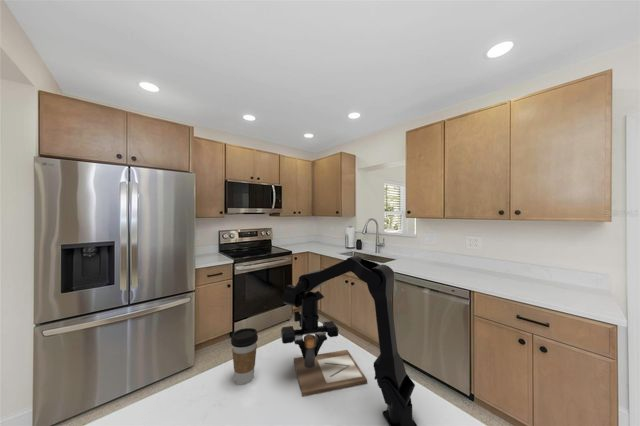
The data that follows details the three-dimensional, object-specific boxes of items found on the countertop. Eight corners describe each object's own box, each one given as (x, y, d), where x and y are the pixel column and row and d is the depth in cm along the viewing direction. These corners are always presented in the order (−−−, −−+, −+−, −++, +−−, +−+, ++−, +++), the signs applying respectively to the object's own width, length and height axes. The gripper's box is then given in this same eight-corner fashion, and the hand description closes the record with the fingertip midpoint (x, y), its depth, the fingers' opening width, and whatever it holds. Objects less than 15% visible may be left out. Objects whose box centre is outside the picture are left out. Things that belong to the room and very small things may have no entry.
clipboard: (367, 383, 74) (367, 378, 74) (302, 396, 68) (302, 391, 68) (347, 352, 90) (347, 349, 90) (293, 361, 85) (293, 357, 85)
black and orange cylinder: (316, 367, 76) (316, 339, 76) (304, 369, 75) (305, 341, 75) (313, 360, 80) (313, 333, 80) (302, 361, 79) (302, 335, 79)
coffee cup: (249, 389, 71) (250, 340, 71) (225, 385, 73) (225, 337, 73) (262, 371, 79) (262, 327, 79) (239, 368, 81) (239, 325, 81)
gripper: (329, 299, 88) (329, 340, 88) (279, 304, 83) (279, 347, 83) (338, 311, 77) (338, 358, 77) (282, 317, 72) (282, 367, 72)
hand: (309, 357), depth 77 cm, fingers closed on black and orange cylinder, 4 cm apart
